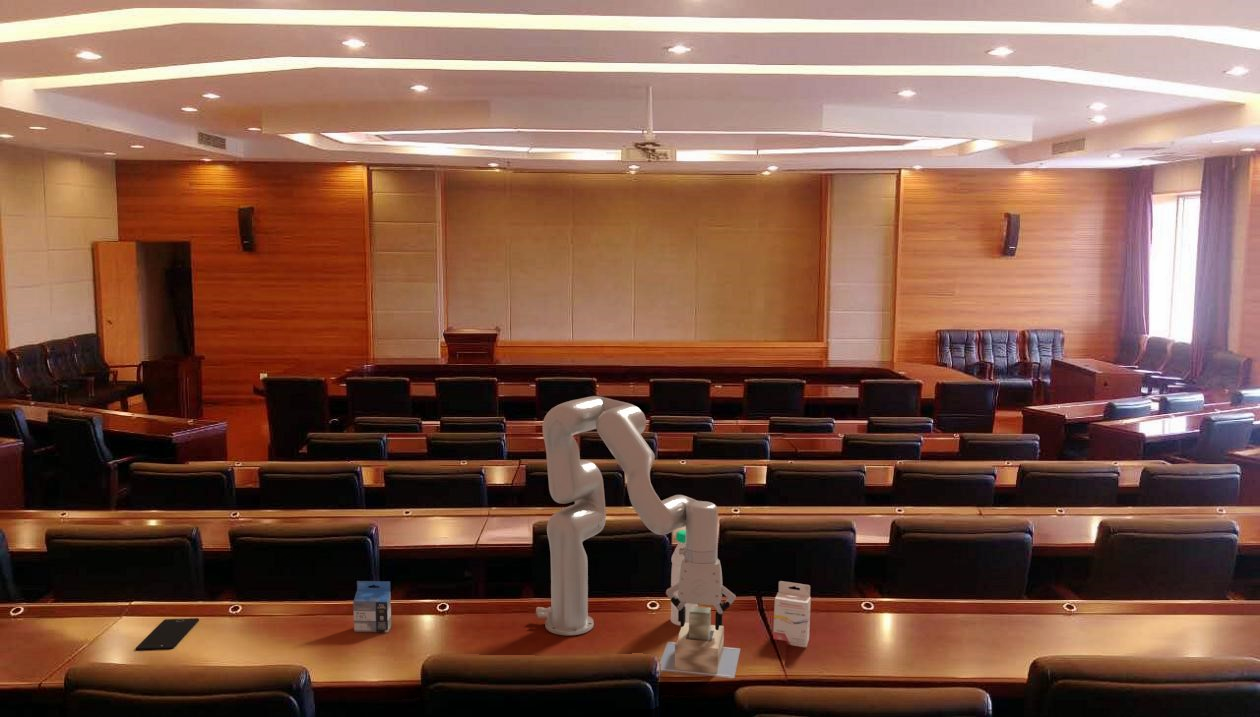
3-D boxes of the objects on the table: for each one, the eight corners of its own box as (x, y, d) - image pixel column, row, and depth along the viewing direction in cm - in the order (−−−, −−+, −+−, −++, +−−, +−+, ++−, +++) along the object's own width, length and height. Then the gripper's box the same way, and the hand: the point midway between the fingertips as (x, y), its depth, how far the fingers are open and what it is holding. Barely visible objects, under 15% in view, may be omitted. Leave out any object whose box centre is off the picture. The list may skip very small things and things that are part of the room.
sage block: (688, 637, 219) (689, 613, 218) (691, 630, 223) (691, 606, 222) (708, 639, 218) (708, 615, 217) (710, 631, 222) (710, 607, 221)
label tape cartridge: (353, 632, 237) (351, 586, 236) (357, 626, 241) (356, 580, 240) (388, 633, 237) (386, 586, 236) (391, 626, 241) (390, 581, 240)
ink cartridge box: (772, 643, 233) (773, 586, 231) (776, 635, 237) (777, 580, 235) (806, 648, 230) (808, 591, 228) (809, 640, 234) (811, 584, 233)
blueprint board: (656, 674, 215) (656, 670, 215) (667, 645, 231) (667, 641, 231) (734, 682, 212) (734, 677, 212) (740, 652, 227) (740, 648, 227)
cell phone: (199, 621, 245) (199, 617, 245) (173, 650, 227) (172, 647, 227) (164, 622, 244) (164, 619, 244) (135, 652, 226) (135, 648, 226)
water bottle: (695, 630, 240) (697, 536, 237) (668, 628, 241) (669, 535, 238) (699, 619, 247) (700, 528, 244) (672, 617, 248) (673, 526, 245)
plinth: (674, 669, 216) (674, 644, 215) (682, 645, 228) (683, 622, 228) (717, 673, 214) (717, 648, 213) (723, 649, 226) (723, 625, 226)
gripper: (662, 557, 216) (661, 629, 218) (736, 562, 213) (735, 636, 215) (667, 546, 223) (666, 616, 226) (739, 552, 220) (738, 623, 222)
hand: (700, 625), depth 220 cm, fingers open, 7 cm apart
